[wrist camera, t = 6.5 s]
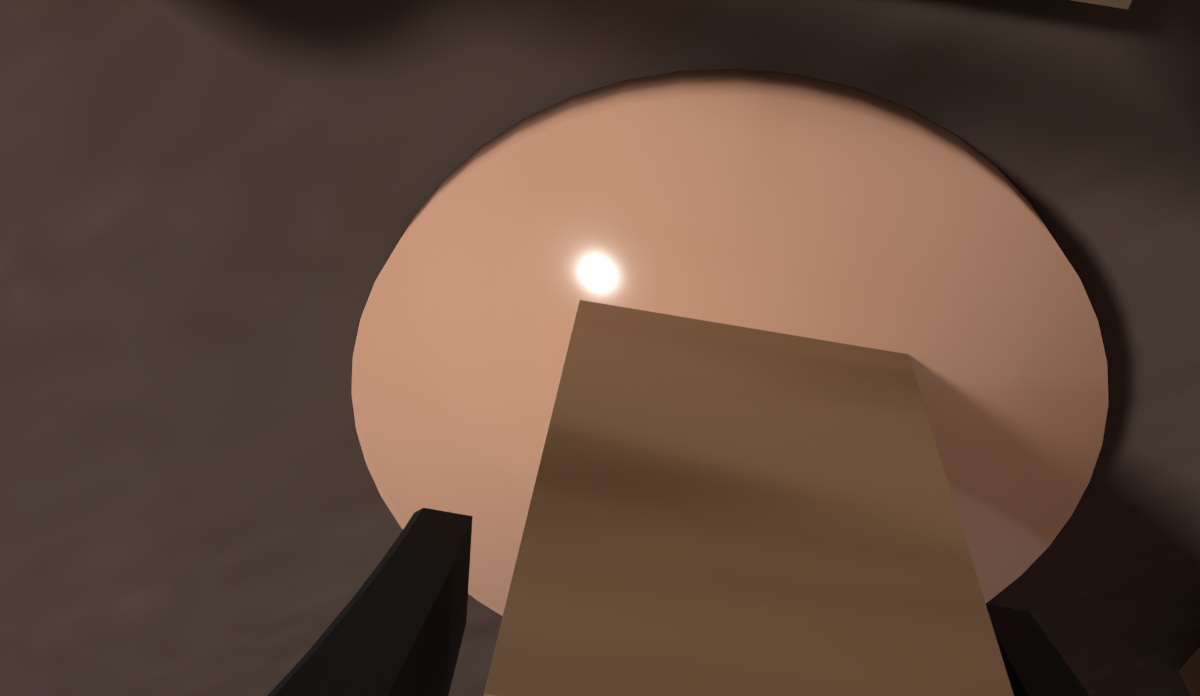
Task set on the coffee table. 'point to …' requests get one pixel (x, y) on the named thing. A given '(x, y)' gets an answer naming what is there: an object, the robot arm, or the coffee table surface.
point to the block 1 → (740, 525)
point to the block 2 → (1192, 674)
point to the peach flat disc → (730, 294)
